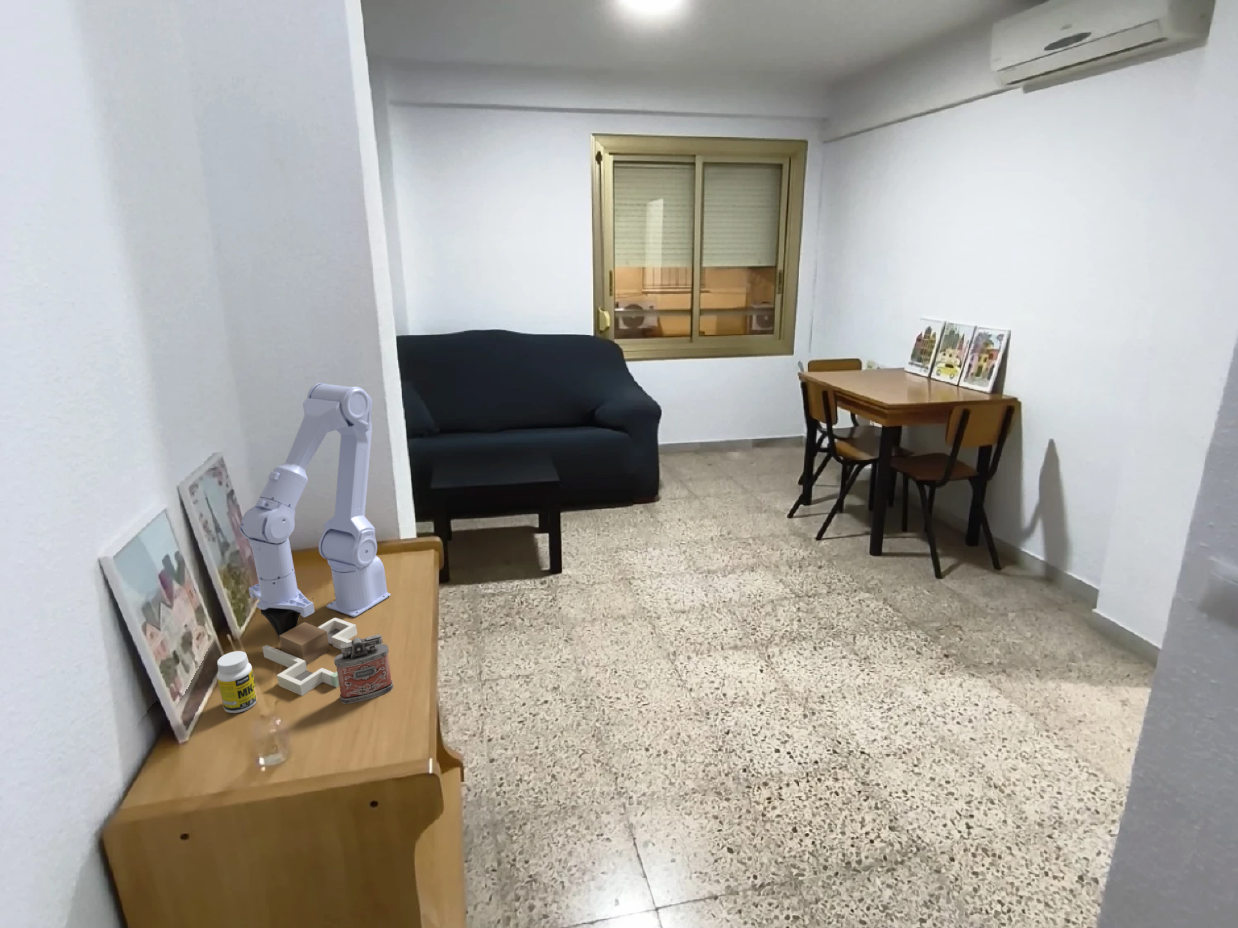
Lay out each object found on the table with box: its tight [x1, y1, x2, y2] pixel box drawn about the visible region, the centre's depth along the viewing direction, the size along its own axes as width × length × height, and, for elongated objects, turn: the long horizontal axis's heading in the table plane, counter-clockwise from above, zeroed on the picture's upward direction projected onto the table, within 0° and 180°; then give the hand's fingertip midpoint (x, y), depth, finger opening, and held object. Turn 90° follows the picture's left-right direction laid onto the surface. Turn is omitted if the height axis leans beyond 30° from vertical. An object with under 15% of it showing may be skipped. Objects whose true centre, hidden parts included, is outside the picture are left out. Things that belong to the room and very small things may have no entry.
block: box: [278, 621, 331, 666], centre depth 117 cm, size 5×6×4 cm
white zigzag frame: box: [262, 617, 358, 697], centre depth 116 cm, size 17×18×2 cm
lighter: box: [333, 633, 394, 705], centre depth 106 cm, size 8×3×10 cm, turn 117°
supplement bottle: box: [216, 650, 257, 714], centre depth 104 cm, size 5×5×8 cm
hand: (288, 640), depth 119 cm, fingers closed
